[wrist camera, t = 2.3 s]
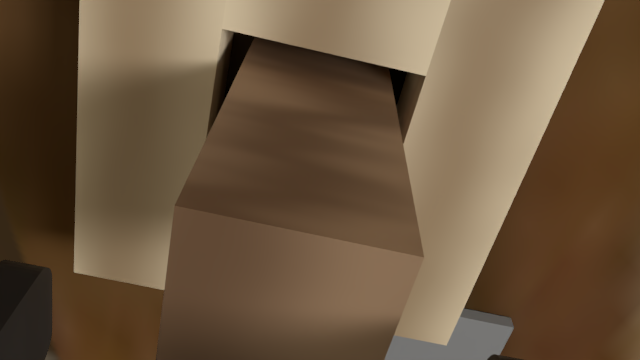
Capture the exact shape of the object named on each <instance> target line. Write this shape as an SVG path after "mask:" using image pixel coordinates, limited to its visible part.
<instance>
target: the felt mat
mask: <svg viewBox="0 0 640 360" xmlns="http://www.w3.org/2000/svg"><path fill="white" fill-rule="evenodd" d="M513 329H514V326H513V323H512V321H511V318H509V317H504V316H499V315H494V314H489V313H484V312H479V311H474V310H469V309H464V308H463V311H462V313H461V315H460V317H459V319H458V322H457V324H456V326H455V328H454V330H453V332H452V335H451V337H450V339H449V341H448V343H447V346H446V345H441V344H436V343H431V342H426V341H421V340H416V339H411V338H405V337H400V336H395V335H394V336H393V339H392V341H391V344H390V346H389V349H388V351H387V354H386V357H385V359H384V360H487V359H488V358H489V357H490V356H491V355H493V354H496V355H500V353H501V351H502V350H503V348H504V346H505V344H506V342H507V340H508V338H509V336H510V334H511V332H512V330H513Z"/></svg>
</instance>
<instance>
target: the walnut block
mask: <svg viewBox="0 0 640 360" xmlns="http://www.w3.org/2000/svg"><path fill="white" fill-rule="evenodd" d="M423 259H424V254H423V248H422V243H421V238H420V232H419V227H418V221H417V216H416V211H415V205H414V200H413V195H412V189H411V184H410V179H409V173H408V168H407V162H406V157H405V152H404V146H403V141H402V136H401V130H400V125H399V120H398V114H397V109H396V104H395V98H394V93H393V87H392V82H391V77H390V71H389V67H385V66H380V65H376V64H372V63H367V62H363V61H359V60H354V59H350V58H346V57H341V56H337V55H333V54H328V53H324V52H320V51H316V50H311V49H307V48H303V47H298V46H294V45H290V44H285V43H281V42H277V41H272V40H268V39H264V38H259V37H254V39H253V41H252V44H251V46H250V48H249V50H248V52H247V54H246V56H245V58H244V60H243V62H242V65H241V67H240V69H239V71H238V73H237V75H236V77H235V79H234V81H233V84H232V86H231V88H230V90H229V92H228V94H227V96H226V98H225V100H224V102H223V105H222V107H221V109H220V111H219V113H218V115H217V117H216V119H215V121H214V123H213V126H212V128H211V130H210V132H209V134H208V136H207V138H206V140H205V142H204V145H203V147H202V149H201V151H200V153H199V155H198V157H197V159H196V161H195V163H194V166H193V168H192V170H191V172H190V174H189V176H188V178H187V180H186V182H185V185H184V187H183V189H182V191H181V193H180V195H179V197H178V199H177V201H176V203H175V206H174V214H173V222H172V230H171V239H170V247H169V255H168V264H167V272H166V280H165V288H164V297H163V305H162V313H161V322H160V330H159V338H158V346H157V355H156V360H384V359H385V357H386V354H387V351H388V349H389V346H390V344H391V341H392V339H393V336H394V334H395V331H396V328H397V326H398V323H399V321H400V318H401V316H402V313H403V311H404V308H405V305H406V303H407V300H408V298H409V295H410V293H411V290H412V287H413V285H414V282H415V280H416V277H417V275H418V272H419V270H420V267H421V264H422V262H423Z"/></svg>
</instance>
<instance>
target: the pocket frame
mask: <svg viewBox="0 0 640 360" xmlns="http://www.w3.org/2000/svg"><path fill="white" fill-rule="evenodd" d="M603 3H604V0H80V2H79V50H78V98H77V146H76V194H75V241H74V272H75V273H80V274H85V275H90V276H95V277H100V278H106V279H111V280H116V281H121V282H126V283H131V284H136V285H141V286H146V287H151V288H156V289H161V290H164V288H165V280H166V272H167V264H168V255H169V247H170V239H171V230H172V222H173V214H174V206H175V203H176V201H177V199H178V197H179V195H180V193H181V191H182V189H183V187H184V185H185V182H186V180H187V178H188V176H189V174H190V172H191V170H192V168H193V166H194V163H195V161H196V159H197V157H198V155H199V153H200V151H201V149H202V147H203V145H204V142H205V140H206V138H207V136H208V134H209V132H210V130H211V128H212V126H213V123H214V121H215V119H216V117H217V115H218V113H219V111H220V109H221V107H222V105H223V102H224V96H225V89H226V83H227V76H228V70H229V63H230V57H231V50H232V44H233V37H234V32H238V33H242V34H246V35H251V36H255V37H259V38H264V39H268V40H272V41H277V42H281V43H285V44H290V45H294V46H298V47H303V48H307V49H311V50H316V51H320V52H324V53H328V54H333V55H337V56H341V57H346V58H350V59H354V60H359V61H363V62H367V63H372V64H376V65H380V66H385V67H389V68H393V69H398V70H402V71H406V72H407V74H406V77H405V81H404V84H403V87H402V90H401V93H400V97H399V100H398V103H397V106H396V109H397V114H398V120H399V125H400V130H401V136H402V141H403V146H404V152H405V157H406V162H407V168H408V173H409V179H410V184H411V189H412V195H413V200H414V205H415V211H416V216H417V221H418V227H419V232H420V238H421V243H422V248H423V254H424V259H423V262H422V264H421V267H420V270H419V272H418V275H417V277H416V280H415V282H414V285H413V287H412V290H411V293H410V295H409V298H408V300H407V303H406V305H405V308H404V311H403V313H402V316H401V318H400V321H399V323H398V326H397V328H396V331H395V334H394V335H395V336H400V337H405V338H411V339H416V340H421V341H426V342H431V343H436V344H441V345H446V346H447V343H448V341H449V339H450V337H451V335H452V332H453V330H454V328H455V326H456V324H457V322H458V319H459V317H460V315H461V313H462V311H463V308H464V306H465V304H466V302H467V300H468V298H469V295H470V293H471V291H472V289H473V287H474V284H475V282H476V280H477V278H478V276H479V274H480V271H481V269H482V267H483V265H484V263H485V260H486V258H487V256H488V254H489V252H490V249H491V247H492V245H493V243H494V241H495V239H496V236H497V234H498V232H499V230H500V228H501V225H502V223H503V221H504V219H505V217H506V215H507V212H508V210H509V208H510V206H511V204H512V201H513V199H514V197H515V195H516V193H517V190H518V188H519V186H520V184H521V182H522V180H523V177H524V175H525V173H526V171H527V169H528V166H529V164H530V162H531V160H532V158H533V156H534V153H535V151H536V149H537V147H538V145H539V142H540V140H541V138H542V136H543V134H544V132H545V129H546V127H547V125H548V123H549V121H550V118H551V116H552V114H553V112H554V110H555V107H556V105H557V103H558V101H559V99H560V97H561V94H562V92H563V90H564V88H565V86H566V83H567V81H568V79H569V77H570V75H571V73H572V70H573V68H574V66H575V64H576V62H577V59H578V57H579V55H580V53H581V51H582V49H583V46H584V44H585V42H586V40H587V38H588V35H589V33H590V31H591V29H592V27H593V24H594V22H595V20H596V18H597V16H598V14H599V11H600V9H601V7H602V5H603Z"/></svg>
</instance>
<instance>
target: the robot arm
mask: <svg viewBox="0 0 640 360" xmlns="http://www.w3.org/2000/svg"><path fill="white" fill-rule="evenodd" d="M51 336H52V273H51V270H50V269H49V268H46V267H41V266H36V265H31V264H25V263H20V262H15V261H10V260H3V261H1V262H0V360H45V357H46V355H47V351H48V349H49V345H50V341H51ZM487 360H522V359H517V358H511V357H506V356H501V355H496V354H493V355H491V356H490V357H489V358H488V359H487Z"/></svg>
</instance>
